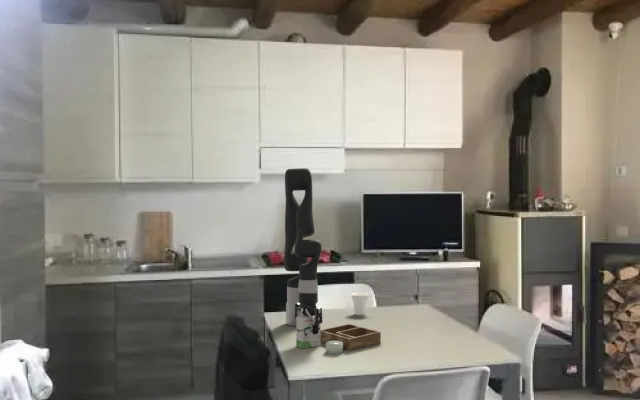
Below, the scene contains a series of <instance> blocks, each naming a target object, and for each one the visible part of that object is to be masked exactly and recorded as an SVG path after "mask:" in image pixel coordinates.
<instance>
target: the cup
mask: <svg viewBox="0 0 640 400" xmlns="http://www.w3.org/2000/svg"><path fill="white" fill-rule="evenodd" d="M370 295H371V294H370V293H366V292H353V293H351V294H350V296H351V298H352V299H351V300H352V302H353V309H354V310H353V311H354V315H355V314H356V316H365V315H366V313H367V312H366V310H367V302H368V299H369V297H370Z"/></svg>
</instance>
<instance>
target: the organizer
mask: <svg viewBox="0 0 640 400" xmlns="http://www.w3.org/2000/svg"><path fill="white" fill-rule="evenodd" d="M381 333H382V332H381V331H379V330H375V329H371V328H368V327H364V326H361V325H360V326H359V325H356V324H352V323H348V324H342V325H338V326H333V327H327V328H323V329H320V343H322V344H325V345H326V342H328V341H341V342H343V350H346V351H348V352H353V351H354V350H359V349H364V348H366V347H370V346H375V345H379V344H381V340H382V337H381V336H382V334H381Z"/></svg>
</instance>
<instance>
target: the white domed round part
mask: <svg viewBox="0 0 640 400" xmlns="http://www.w3.org/2000/svg"><path fill="white" fill-rule="evenodd" d="M342 352H343V353H344V349H343V342H341V341H328V342H326V344H325V353H326V354H328V353H329V355H341V354H343V353H342Z"/></svg>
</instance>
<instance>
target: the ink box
mask: <svg viewBox="0 0 640 400" xmlns="http://www.w3.org/2000/svg"><path fill="white" fill-rule="evenodd" d="M314 320H315V319H314ZM318 320H319V318H318ZM315 321H316V320H315ZM295 327H296V335H295V336H296V338H295V339H296V340H295V341H296V343H295V345H296V346H295V347H298V348H301V349H307V348H308V349H309V348H314V347H319V346H320V347H321V342H320V330H321V323H320V324H319V325H318V334H315V335H314V334H313V323H312V321H311V320H310V319H309V317H307V316H304V315H300V316H297V317H296V326H295Z"/></svg>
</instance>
